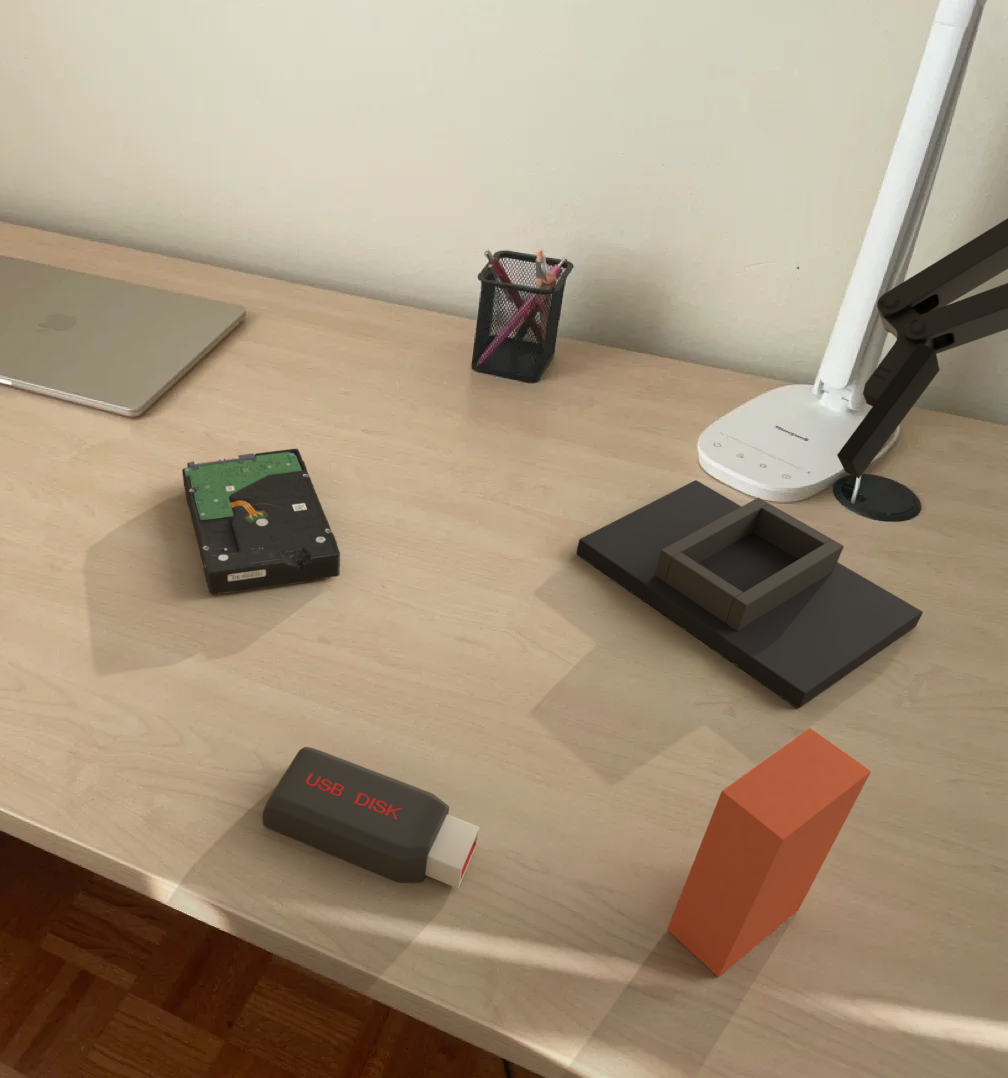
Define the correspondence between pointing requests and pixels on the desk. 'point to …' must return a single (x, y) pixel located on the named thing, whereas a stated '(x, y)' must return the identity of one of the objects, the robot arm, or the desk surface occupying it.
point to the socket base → (752, 587)
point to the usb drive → (370, 820)
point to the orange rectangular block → (765, 848)
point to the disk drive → (259, 522)
